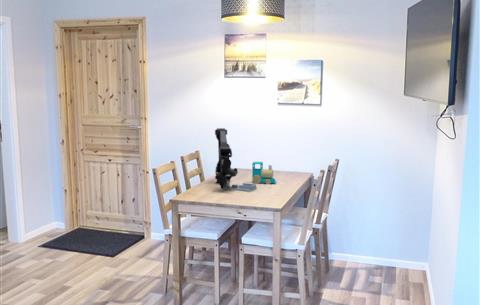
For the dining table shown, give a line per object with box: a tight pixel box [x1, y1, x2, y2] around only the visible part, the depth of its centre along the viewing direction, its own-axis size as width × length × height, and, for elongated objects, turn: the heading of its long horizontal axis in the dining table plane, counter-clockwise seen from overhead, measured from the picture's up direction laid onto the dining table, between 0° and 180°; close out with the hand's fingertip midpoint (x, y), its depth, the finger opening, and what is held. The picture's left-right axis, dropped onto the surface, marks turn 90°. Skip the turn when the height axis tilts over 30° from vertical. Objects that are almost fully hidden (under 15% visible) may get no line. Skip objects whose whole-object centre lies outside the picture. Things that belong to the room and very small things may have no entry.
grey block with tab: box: [220, 179, 231, 191], centre depth 319 cm, size 5×4×7 cm
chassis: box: [229, 182, 257, 193], centre depth 319 cm, size 15×11×3 cm
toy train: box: [251, 161, 277, 185], centre depth 338 cm, size 8×17×15 cm, turn 77°
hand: (225, 187), depth 319 cm, fingers open, 8 cm apart
